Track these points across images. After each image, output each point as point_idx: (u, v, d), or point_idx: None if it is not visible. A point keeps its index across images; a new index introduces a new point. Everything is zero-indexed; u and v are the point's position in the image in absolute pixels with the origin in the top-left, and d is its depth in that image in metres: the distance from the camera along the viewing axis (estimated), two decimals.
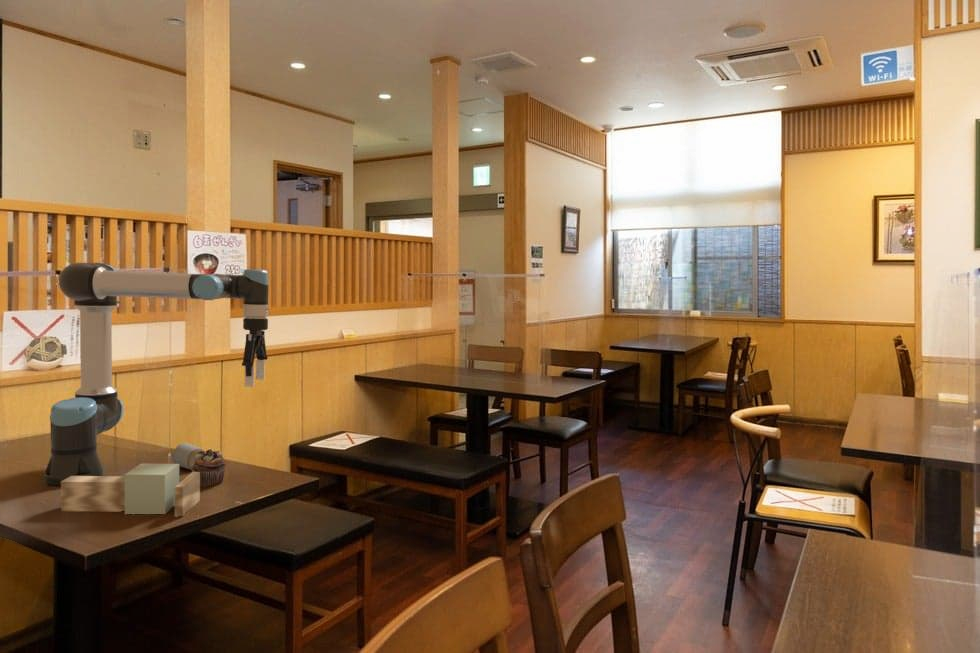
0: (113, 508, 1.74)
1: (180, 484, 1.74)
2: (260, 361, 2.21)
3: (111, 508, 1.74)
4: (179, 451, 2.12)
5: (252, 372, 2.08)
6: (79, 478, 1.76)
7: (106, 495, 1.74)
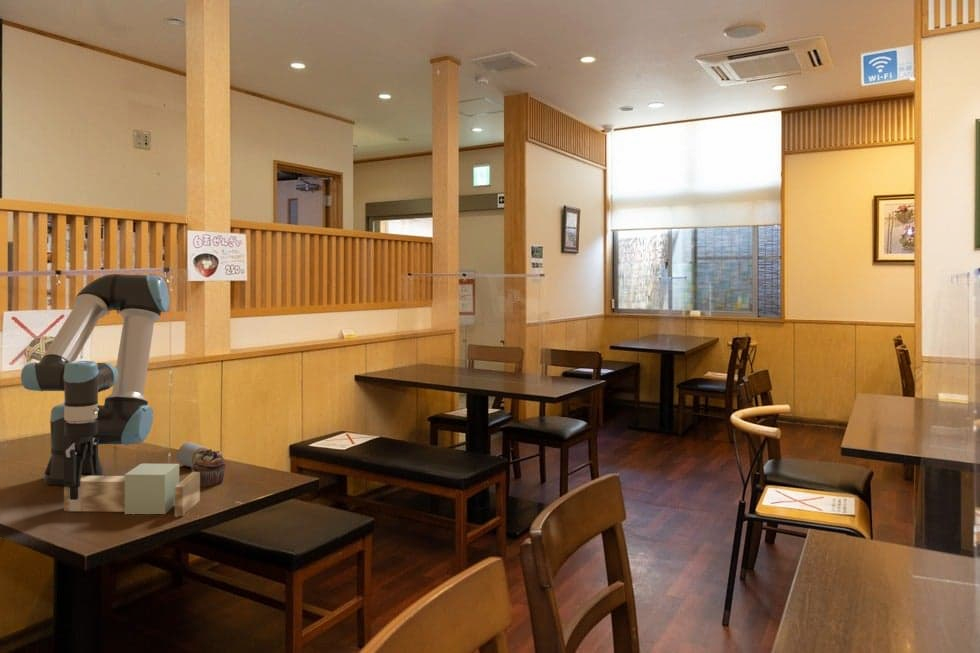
0: (116, 507, 1.74)
1: (180, 484, 1.74)
2: None
3: (114, 508, 1.74)
4: (184, 450, 2.13)
5: (79, 494, 1.73)
6: (82, 477, 1.76)
7: (109, 495, 1.74)
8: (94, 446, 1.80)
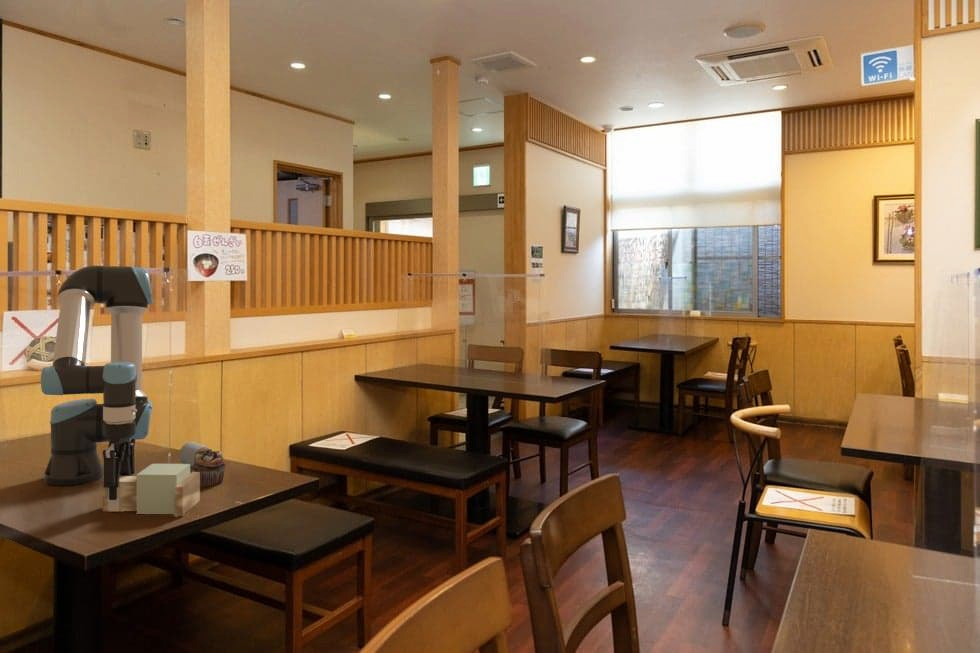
0: None
1: (180, 484, 1.74)
2: None
3: None
4: (186, 450, 2.14)
5: (117, 494, 1.73)
6: (120, 478, 1.77)
7: None
8: (131, 447, 1.81)
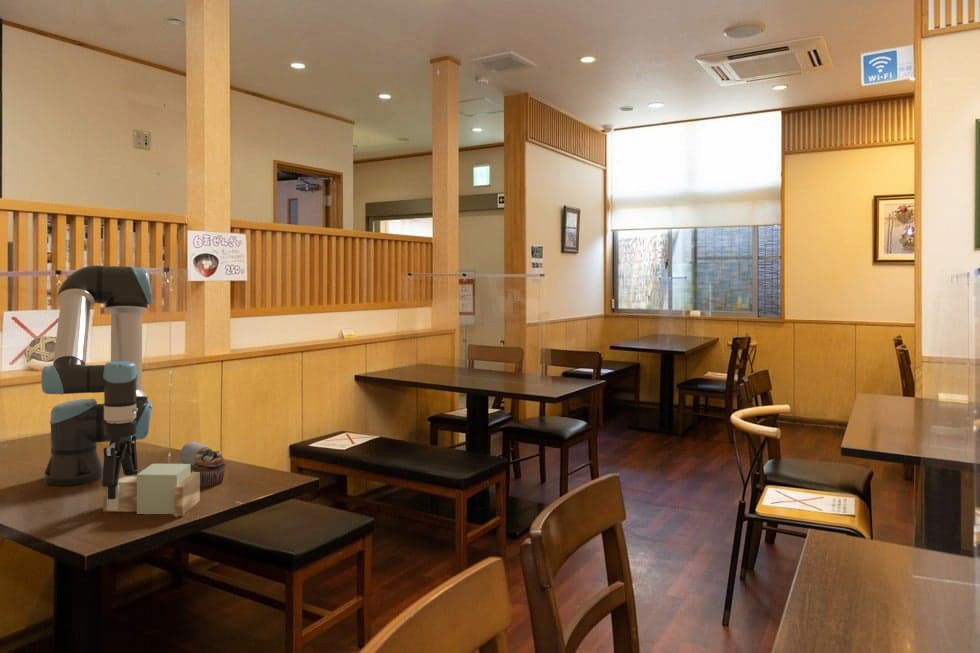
0: None
1: (180, 484, 1.74)
2: None
3: None
4: (187, 449, 2.14)
5: (116, 493, 1.72)
6: (121, 478, 1.77)
7: None
8: (132, 444, 1.81)
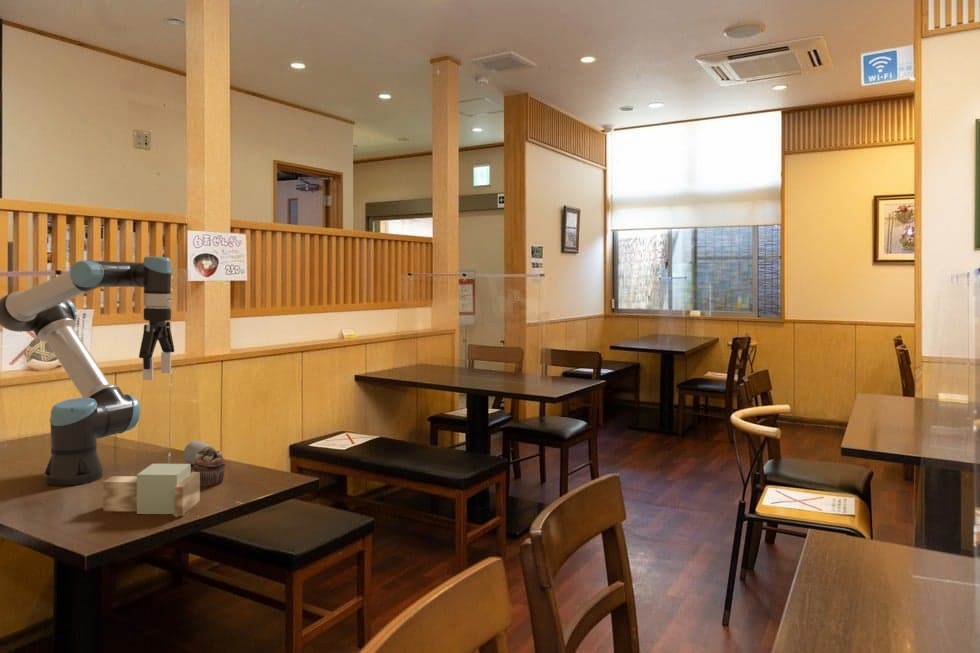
0: None
1: (180, 484, 1.74)
2: (165, 354, 2.10)
3: None
4: (190, 449, 2.15)
5: (151, 365, 1.97)
6: (121, 478, 1.77)
7: None
8: (167, 329, 2.09)
